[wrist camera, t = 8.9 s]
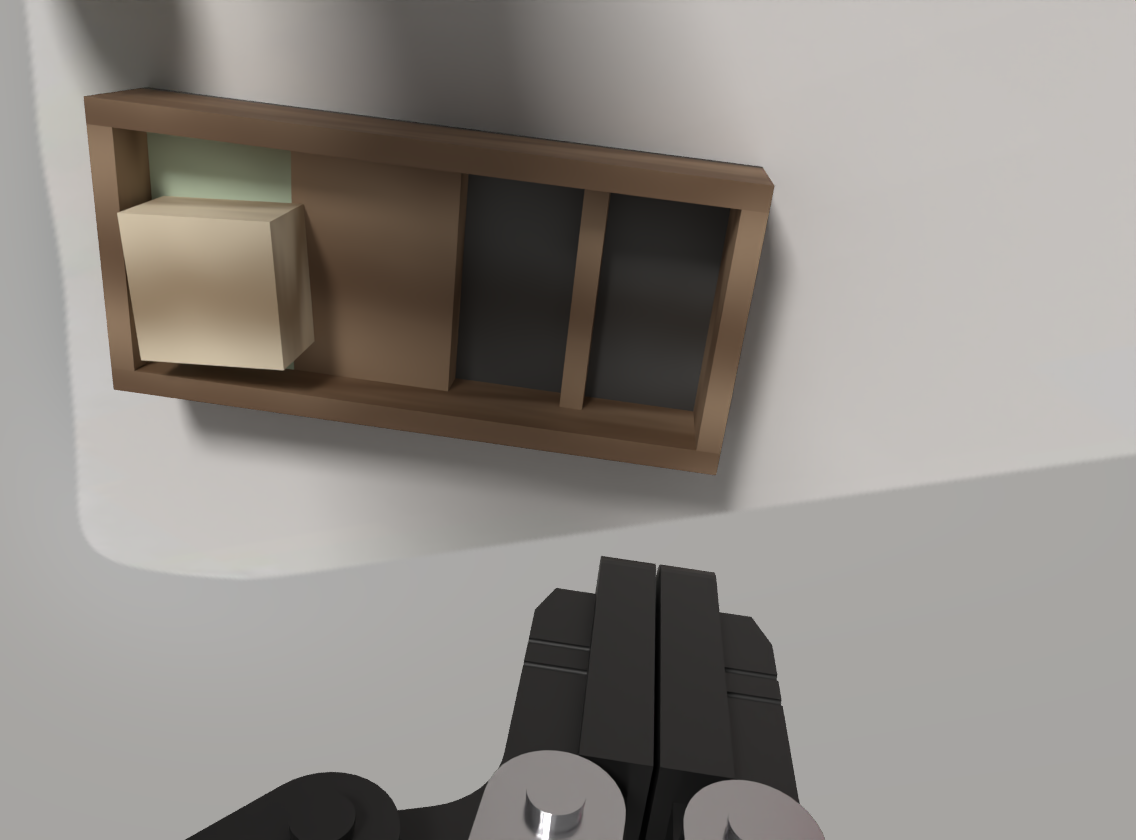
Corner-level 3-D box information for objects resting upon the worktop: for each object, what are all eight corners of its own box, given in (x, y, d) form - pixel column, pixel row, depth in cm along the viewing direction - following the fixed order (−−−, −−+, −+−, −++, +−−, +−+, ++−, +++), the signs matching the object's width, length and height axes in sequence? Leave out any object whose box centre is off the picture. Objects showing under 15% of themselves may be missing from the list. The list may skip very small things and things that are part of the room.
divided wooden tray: (145, 87, 39) (83, 96, 34) (762, 166, 37) (774, 185, 33) (165, 354, 43) (113, 389, 39) (710, 430, 42) (715, 475, 38)
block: (163, 195, 38) (117, 213, 35) (303, 203, 38) (269, 221, 35) (183, 332, 41) (141, 360, 37) (314, 341, 40) (283, 370, 37)
